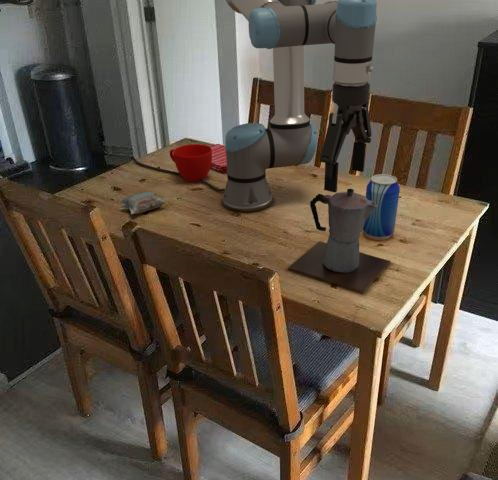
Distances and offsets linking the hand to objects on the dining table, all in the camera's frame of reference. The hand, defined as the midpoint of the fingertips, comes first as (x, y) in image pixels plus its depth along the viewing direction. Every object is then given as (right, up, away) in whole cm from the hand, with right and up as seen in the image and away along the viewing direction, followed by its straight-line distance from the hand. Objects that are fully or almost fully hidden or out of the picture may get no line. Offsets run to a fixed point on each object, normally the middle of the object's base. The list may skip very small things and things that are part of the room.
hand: (344, 180), depth 122 cm
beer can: (+14, -10, +26) cm, 31 cm away
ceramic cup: (-42, +14, +66) cm, 79 cm away
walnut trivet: (+1, -19, +12) cm, 23 cm away
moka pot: (+1, -19, +12) cm, 22 cm away
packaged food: (-54, -1, +44) cm, 70 cm away
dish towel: (-32, +23, +79) cm, 88 cm away
